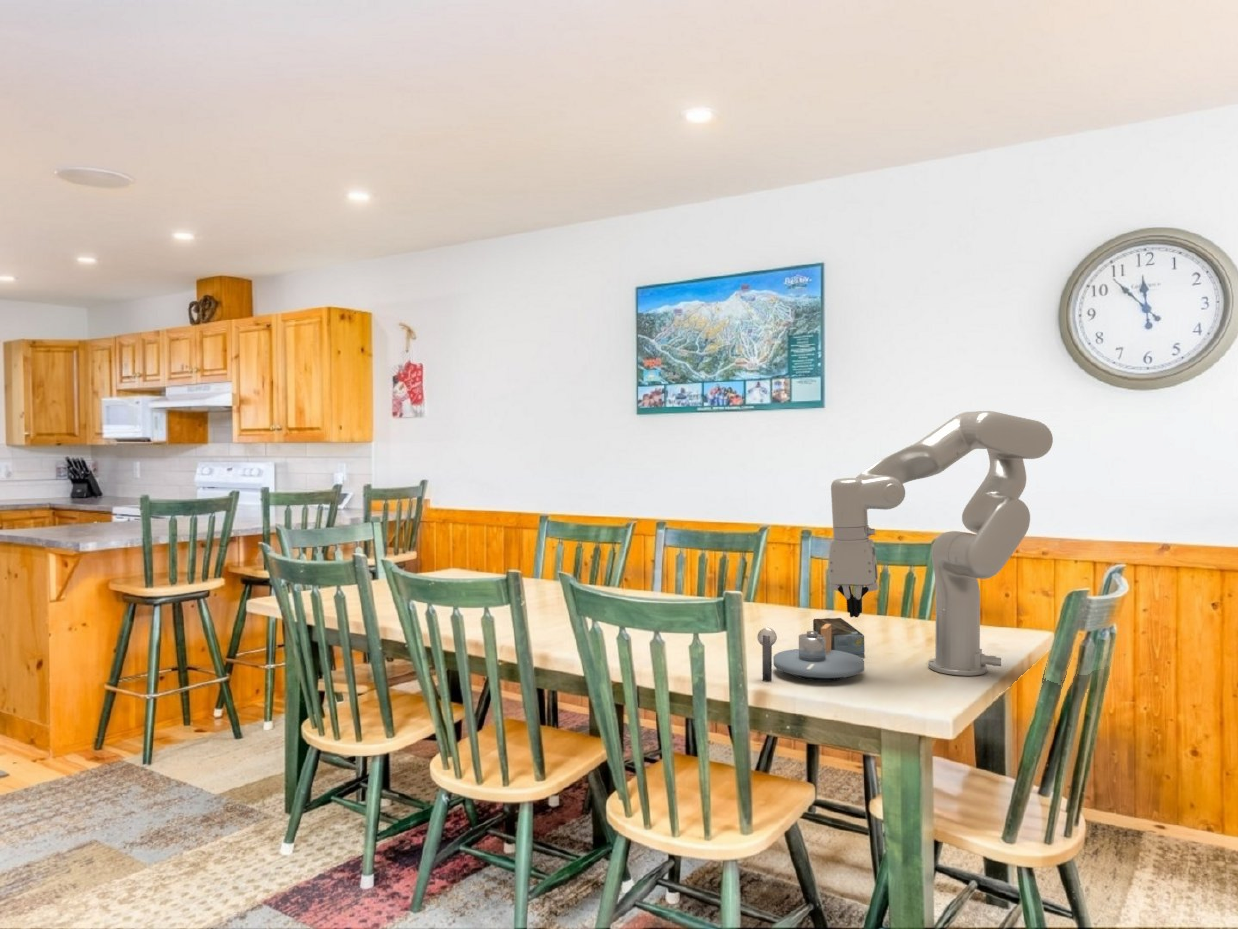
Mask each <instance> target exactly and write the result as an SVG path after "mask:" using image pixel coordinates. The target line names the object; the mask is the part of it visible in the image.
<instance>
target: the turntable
mask: <svg viewBox="0 0 1238 929" xmlns="http://www.w3.org/2000/svg"><path fill="white" fill-rule="evenodd" d="M821 635H823V636H825V637H826V660H825V661H821V662H808V661H803V660H800V659H799V648H795V649H794V648H793V649H787V650H782V651H779V652H777V653H776V654H774V655H773V656H772V657H773V658H772V659H773V660H772V663H773V664H772V665H773V666H774V667H775V669H777V670H778V671H780V672H781V671H782V672H784V673H787V674H790V675H793V674H794V675H800V676H806V677H818V678H838V677H844V678H846V677H853V676H856V675H859V674H862V673H863V672H864V670H865V660H864V658H861V657H859V656H857V655H854V654H851V653H847V652H842V651H836V650H831V624H825V625H824V626H823V627H822V628H821ZM794 675H793V676H794Z"/></svg>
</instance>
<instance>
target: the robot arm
mask: <svg viewBox="0 0 1238 929" xmlns="http://www.w3.org/2000/svg"><path fill="white" fill-rule="evenodd" d="M1053 439H1054V438H1053V434H1052V431H1051V429H1050V428H1049V427H1048V426H1047V425H1046V424H1045V423H1043V422H1041V421H1039V420H1036V419H1030V418H1026V417H1021V416H1016V415H1011V414H1007V413H1004V412H997V411H991V410H980V411H979V410H978V411H965V412H962V413H958V414H956V415H955V416H954V417H952V418H951V419H949V420H948V421H946V422H944V423H943V424H942V425H941V426H939V427H938V428H936V429H934V430H933V431H932V432H930V433H929V434H927V435H926V436H925V437H923V438H922V439H920V440H919V441H916V442H915V443H914V444H911V445H908V446H906V447H905V448H902V449H901V450H898V451H897V452H894V453H892V454H890V455H888V456H886V457H884V458H882V459H880V460H879V461H877V462H875V463H874V464H872V465H871V466H869V467H868V468H866V469H865V470H864V471H862V472H861V473H860V474H858V475H857V476H856V477H848V478H847V477H845V478H844V477H843V478H837V479H834V480H833V481H832V482H831V485H830V491H831V492H830V493H831V495H830V496H831V498H830V499H831V512H832V534H833V539H831V540H830V545H829V555H828V579H829V583H828V588H829V590H834V591H837V592H839V593H840V594H841V595H842V596H843V597H844V599H846V610H847V611H846V612H847V613H849V617H850V618H859V616H860V614H862V613H863V602H862V600H863V599H862V598H863V597H864V596H865V595H866V594H867V593H869V592H875V591H878V589H879V583H878V578H879V575H878V574H879V572H878V562H877V556H876V550H875V544H874V540H873V539H872V538H870V536H872V535H874V536H875V535H876V529H875V528H871V527H870V525H869V520H868V510H869V509H871V510H883V511H884V510H885V511H886V510H892V509H894V508H897V507H898V506H900V505H901V504H902V503H903V501H904V500H905V497H906V489H905V485H904V484H906V483H908V482H912V481H915V480H922V479H926V478H929V477H933V476H936V475H939V474H941V473H942V472H945V470H947V469H948V468H949V467H951V466H953V465H954V464H955V463H957V462H958V461H959V460H960V459H962V458H964V457H965V456H967V455H968V454H969V453H971V452H973V451H974V450H976V449H977V450H978V449H979V450H986V451H987V454H988V459H989V468H988V472H987V474H986V476H985V478H984V479H983V481H982V483H980V486H978V488H977V490H976V491H975V492H974V494H973V495H972V497H971V498H970V499H969V501H968V503H967V504H966V505H965V507H964V509H963V510H962V514H961V522H962V524H963V525H964V527H965V528H966V530H968V531H970V532H971V533H970V532H966V531H965V532H964V531H957V530H950V531H946V532H944V533H941V534H940V535H938V537H936V538H935V540H934V542H933V544H932V547H931V562H932V567H933V573H934V580H935V581H934V582H935V583H934V584H935V636H934V637H935V640H934V641H935V644H934V645H935V655H934V656H935V658H931V659H930V660H928V661H927V662H928V663H927V666H928V668H929V669H930V670H932V671H934V672H937V673H941V674H946V675H952V676H953V675H954V676H965V677H967V676H968V677H969V676H971V677H972V676H979V675H980V676H981V675H984V674H986V673H987V672H988V667H987V666H993V667H1002V657H997V655H987V654H985V653H983V649H982V648H981V644H980V643H981V639H980V638H981V590H980V589H981V588H980V585H979V581H978V579H980V580H986V579H990V578H992V577H995V576H996V575H997V574H999V573H1000V571H1001V570H1002V569H1003V568H1004V566H1005V565H1006V564H1007V562H1008V561H1009V560H1010V559H1011V557H1012V555H1013V554H1014V553H1015V551H1016V549H1017V548H1018V546H1019V545H1020V544H1021V542H1022V541H1023V539H1024V537H1025V536H1026V535H1027V532H1028V531H1029V527H1030V524H1031V514H1030V510H1029V508H1028V505H1027V504H1026V503H1025V502H1024V501H1023V500H1021V499H1020V497H1021V495H1023V492H1024V490H1025V488H1026V486H1027V485H1026V484H1027V472H1026V471H1027V470H1026V467H1025V466H1026V465H1025V462H1024V460H1034V459H1039V458H1042V457H1044V456H1045V455H1047V454H1048V453H1049V451H1050V450H1051V449H1052V447H1053V443H1054V442H1053V441H1054V440H1053ZM854 586H856V588H855V595H853V591H852V587H854Z"/></svg>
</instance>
